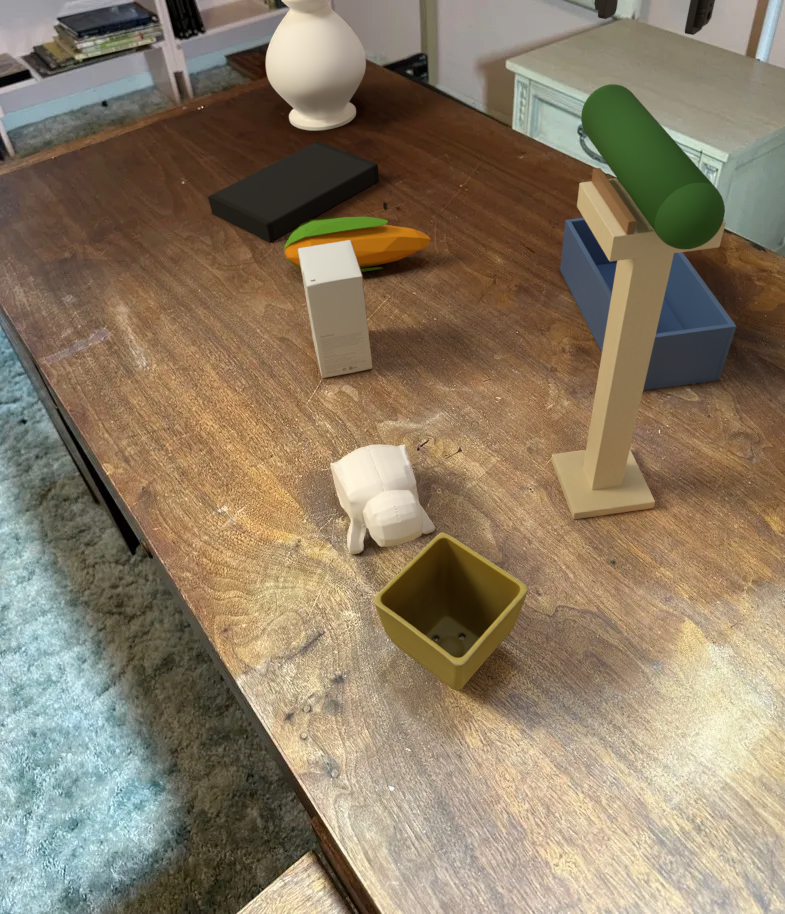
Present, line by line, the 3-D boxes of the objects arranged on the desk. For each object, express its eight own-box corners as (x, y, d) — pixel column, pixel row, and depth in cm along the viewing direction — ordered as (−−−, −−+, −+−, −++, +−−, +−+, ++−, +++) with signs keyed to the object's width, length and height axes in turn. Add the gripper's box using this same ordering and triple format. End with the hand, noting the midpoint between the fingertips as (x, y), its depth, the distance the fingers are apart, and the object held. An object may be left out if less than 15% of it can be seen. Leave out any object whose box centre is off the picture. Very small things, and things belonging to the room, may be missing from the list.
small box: (373, 369, 91) (363, 276, 82) (321, 379, 91) (304, 286, 81) (362, 329, 97) (350, 238, 87) (312, 339, 96) (296, 247, 87)
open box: (641, 259, 103) (651, 208, 98) (719, 380, 86) (736, 326, 80) (559, 270, 103) (565, 219, 97) (622, 393, 85) (632, 340, 80)
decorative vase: (335, 144, 134) (314, -18, 116) (256, 127, 141) (225, -28, 123) (388, 104, 144) (377, -50, 126) (311, 90, 151) (291, -58, 133)
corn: (280, 208, 104) (427, 196, 103) (290, 255, 110) (429, 244, 109) (278, 240, 99) (431, 227, 99) (288, 288, 105) (433, 276, 104)
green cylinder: (571, 133, 64) (577, 79, 61) (623, 127, 64) (631, 72, 61) (661, 266, 50) (674, 204, 47) (727, 257, 50) (744, 195, 47)
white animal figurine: (334, 514, 80) (363, 591, 67) (317, 441, 76) (344, 508, 63) (411, 493, 81) (456, 564, 68) (398, 420, 78) (442, 481, 64)
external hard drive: (212, 213, 120) (207, 195, 118) (320, 157, 131) (317, 140, 128) (270, 243, 113) (266, 224, 111) (379, 181, 123) (377, 163, 121)
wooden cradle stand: (623, 443, 80) (684, 156, 58) (653, 508, 74) (736, 216, 52) (548, 453, 80) (580, 169, 57) (572, 519, 74) (620, 231, 51)
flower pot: (524, 646, 65) (531, 586, 58) (460, 722, 61) (460, 667, 54) (444, 590, 69) (442, 529, 63) (379, 658, 65) (369, 599, 59)
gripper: (803, -220, 55) (743, 24, 67) (626, -222, 62) (600, 0, 74) (759, -204, 52) (704, 52, 64) (577, -208, 59) (557, 23, 71)
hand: (648, 23), depth 69 cm, fingers open, 8 cm apart
